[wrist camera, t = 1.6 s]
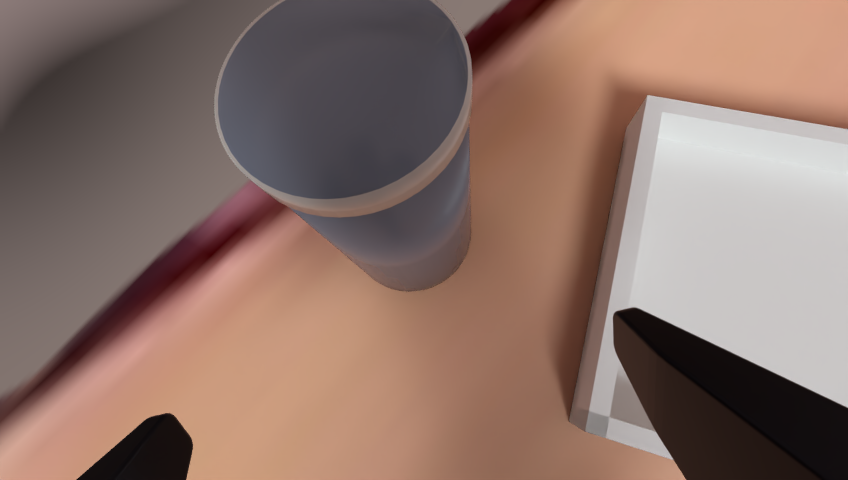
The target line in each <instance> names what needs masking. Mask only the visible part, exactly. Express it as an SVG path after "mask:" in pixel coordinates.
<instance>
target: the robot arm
mask: <svg viewBox="0 0 848 480" xmlns="http://www.w3.org/2000/svg"><path fill="white" fill-rule="evenodd" d="M613 344H614V349H615V352H616V354H617V357H618V359H619V361H620V363H621V365H622V367H623V369H624V371H625V373H626V375H627V377H628V379H629V381H630V383H631V385H632V387H633V389H634V391H635V392H636V394H637V396H638V398H639V400H640V402H641V404H642V406H643V408H644V410H645V412H646V414H647V416H648V418H649V420H650V422H651V424H652V426H653V428H654V429H655V431H656V433H657V434H658V436H659V438H660V439H661V441H662V442H663V444H664V446H665V447H666V449H667V450H668V452H669V453H670V455H671V456H672V458H673V460H674V461H675V463H676V464H677V466H678V467H679V469H680V470H681V472H682V474H683V475H684V477H685V478H686V480H848V407H846V406H843V405H841V404H839V403H837V402H835V401H833V400H831V399H829V398H827V397H825V396H822V395H820V394H818V393H816V392H814V391H812V390H810V389H808V388H806V387H803V386H801V385H799V384H797V383H795V382H793V381H791V380H789V379H787V378H785V377H782V376H780V375H778V374H776V373H774V372H772V371H770V370H768V369H766V368H764V367H761V366H759V365H757V364H755V363H753V362H751V361H749V360H747V359H745V358H742V357H740V356H738V355H736V354H734V353H732V352H730V351H728V350H726V349H724V348H721V347H719V346H717V345H715V344H713V343H711V342H709V341H707V340H705V339H703V338H700V337H698V336H696V335H694V334H692V333H690V332H688V331H686V330H684V329H681V328H679V327H677V326H675V325H673V324H671V323H669V322H667V321H665V320H663V319H660V318H658V317H656V316H654V315H652V314H650V313H648V312H646V311H644V310H642V309H639V308H636V307H632V308H627V309H623V310H618V311H616V312H615V313H614V315H613ZM192 450H193V443H192V439H191V437H190V435H189V434H188V433H187V432H186V430H185V429H184V428H183V426H182V425H181V424H180V422H179V421H178V420H177V418H176V417H175V416H174V415H172V414H170V413H165V414H161V415H157V416H152V417H150V418H148V419H146V420H145V421H144V422H142V423H141V424H140V425H139V426H138V427H137V428H135V429H134V430H133V431H132V432H131V433H130V434H129V435H127V436H126V437H125V438H124V439H123V440H122V441H120V442H119V443H118V444H117V445H116V446H115V447H114V448H112V449H111V450H110V451H109V452H108V453H107V454H105V455H104V456H103V457H102V458H101V459H100V460H99V461H97V462H96V463H95V464H94V465H93V466H92V467H90V468H89V469H88V470H87V471H86V472H85V473H84V474H82V475H81V476H80V477H79V478H78V479H77V480H186V478H187V473H188V469H189V464H190V460H191V455H192Z"/></svg>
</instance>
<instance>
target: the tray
mask: <svg viewBox="0 0 848 480" xmlns="http://www.w3.org/2000/svg"><path fill="white" fill-rule="evenodd" d="M632 307H636V308H639V309H642V310H644V311H646V312H648V313H650V314H652V315H654V316H656V317H658V318H660V319H663V320H665V321H667V322H669V323H671V324H673V325H675V326H677V327H679V328H681V329H684V330H686V331H688V332H690V333H692V334H694V335H696V336H698V337H700V338H703V339H705V340H707V341H709V342H711V343H713V344H715V345H717V346H719V347H721V348H724V349H726V350H728V351H730V352H732V353H734V354H736V355H738V356H740V357H742V358H745V359H747V360H749V361H751V362H753V363H755V364H757V365H759V366H761V367H764V368H766V369H768V370H770V371H772V372H774V373H776V374H778V375H780V376H782V377H785V378H787V379H789V380H791V381H793V382H795V383H797V384H799V385H801V386H803V387H806V388H808V389H810V390H812V391H814V392H816V393H818V394H820V395H822V396H825V397H827V398H829V399H831V400H833V401H835V402H837V403H839V404H841V405H843V406H846V407H848V129H843V128H837V127H831V126H825V125H820V124H814V123H808V122H802V121H796V120H790V119H785V118H779V117H773V116H767V115H761V114H755V113H750V112H744V111H738V110H732V109H726V108H720V107H715V106H709V105H703V104H697V103H691V102H685V101H680V100H674V99H668V98H662V97H656V96H651V95H647V97H646V98H645V100H644V101H643V103H642V104H641V106H640V107H639V109H638V111H637V112H636V114H635V115H634V117H633V118H632V120H631V121H630V123H629V124H628V126H627V128H626V132H625V137H624V142H623V147H622V152H621V157H620V163H619V168H618V173H617V178H616V183H615V188H614V193H613V198H612V203H611V209H610V214H609V219H608V224H607V229H606V234H605V239H604V244H603V249H602V255H601V260H600V265H599V270H598V275H597V280H596V285H595V290H594V295H593V300H592V306H591V311H590V316H589V321H588V326H587V331H586V336H585V341H584V346H583V352H582V357H581V362H580V367H579V372H578V377H577V382H576V387H575V392H574V398H573V403H572V408H571V413H570V418H569V422H570V423H572V424H574V425H575V426H577V427H579V428H580V429H582V430H584V431H585V432H588V433H591V434H595V435H598V436H601V437H604V438H607V439H610V440H613V441H616V442H619V443H622V444H625V445H628V446H632V447H635V448H638V449H641V450H644V451H647V452H650V453H653V454H656V455H659V456H662V457H666V458H669V459H672V460H673V458H672V456H671V455H670V453H669V452H668V450H667V449H666V447H665V446H664V444H663V442H662V441H661V439H660V438H659V436H658V434H657V433H656V431H655V429H654V428H653V426H652V424H651V422H650V420H649V418H648V416H647V414H646V412H645V410H644V408H643V406H642V404H641V402H640V400H639V398H638V396H637V394H636V392H635V391H634V389H633V387H632V385H631V383H630V381H629V379H628V377H627V375H626V373H625V371H624V369H623V367H622V365H621V363H620V361H619V359H618V357H617V354H616V352H615V349H614V344H613V315H614V313H615V312H616V311H618V310H623V309H627V308H632Z"/></svg>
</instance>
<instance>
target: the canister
mask: <svg viewBox="0 0 848 480" xmlns="http://www.w3.org/2000/svg"><path fill="white" fill-rule="evenodd" d="M471 110H472V64H471V56H470V52H469V48H468V44H467V42H466V40H465V37H464V35H463V32H462V30H461V29H460V27H459V26H458V24H457V22H456V21H455V19H454V18H453V17H452V16H451V15H450V13H449V12H448V11H447V10H446V9H445V8H444V7H443V6H442V5H440V4H439V3H438V2H437V1H436V0H280V1H278V2H276V3H275V4H274V5H272V6H271V7H269V8H268V9H267V10H265V11H264V12H263V13H262V14H261V15H259V16H258V17H257V18H256V19H255V20H254V21H253V22H252V23H251V24H250V25H249V26H248V27H247V28H246V29H245V30H244V31H243V33H242V34H241V35H240V37H239V38H238V39H237V41H236V42H235V43H234V45H233V46H232V48H231V50H230V52H229V54H228V55H227V57H226V59H225V61H224V64H223V66H222V68H221V71H220V74H219V77H218V81H217V85H216V91H215V99H214V115H215V120H216V127H217V131H218V134H219V137H220V140H221V143H222V144H223V147H224V148H225V150H226V152H227V154H228V156H229V157H230V158H231V160H232V161H233V162H234V164H235V165H236V166H237V167H238V169H240V170H241V171H242V172H243V173H244V174H245V175H246V176H247V177H248V178H249V179H250V180H251V181H253V182H254V183H255V184H256V185H257V186H259V187H260V188H261V189H262V190H263V191H265V192H266V193H267V194H268V195H270V196H271V197H273V198H274V199H276V200H277V201H278V202H280V203H282V204H284V205H286V206H288V207H289V208H290V209H292V210H293V211H294V212H295V213H296V214H297V215H299V216H300V217H301V218H302V219H303V220H305V221H306V222H307V223H308V224H309V225H310V226H312V227H313V228H314V229H315V230H316V231H317V232H319V233H320V234H321V235H322V236H323V237H324V238H326V239H327V240H328V241H329V242H330V243H332V244H333V245H334V246H335V247H336V248H337V249H339V250H340V251H341V252H342V253H343V254H344V255H346V256H347V257H348V258H349V259H350V260H351V261H353V262H354V263H355V264H356V265H357V266H358V267H360V268H361V269H362V270H363V271H364V272H366V273H367V274H368V275H369V276H370V277H371V278H373V279H374V280H375V281H377V282H378V283H380V284H382V285H384V286H386V287H388V288H391V289H394V290H399V291H408V292H410V291H420V290H425V289H428V288H431V287H434V286H436V285H438V284H440V283H442V282H443V281H445V280H446V279H448V278H449V277H450V276H451V275H452V274H453V273H454V272H455V271H456V270H457V269H458V268H459V266H460V265H461V263H462V262H463V260H464V258H465V256H466V254H467V251H468V248H469V245H470V240H471V204H470V147H469V120H470V116H471Z"/></svg>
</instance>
